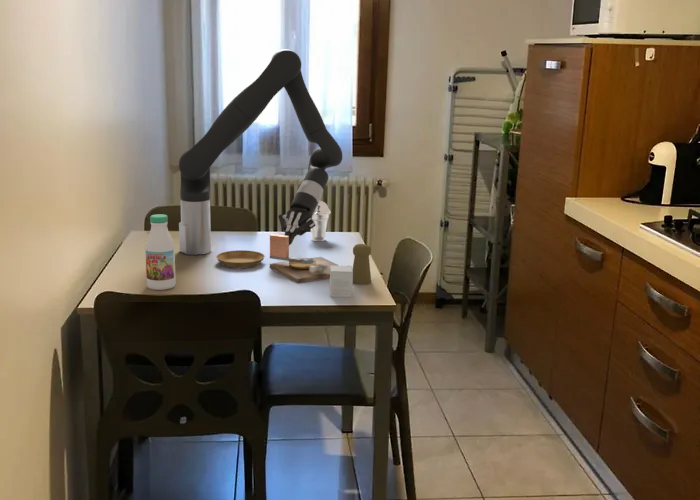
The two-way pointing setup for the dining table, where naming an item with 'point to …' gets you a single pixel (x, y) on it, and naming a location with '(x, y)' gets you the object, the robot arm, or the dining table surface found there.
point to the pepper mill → (361, 264)
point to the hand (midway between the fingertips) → (285, 244)
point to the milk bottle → (160, 255)
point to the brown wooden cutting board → (305, 270)
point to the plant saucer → (240, 258)
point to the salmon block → (287, 252)
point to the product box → (341, 281)
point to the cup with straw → (320, 221)
